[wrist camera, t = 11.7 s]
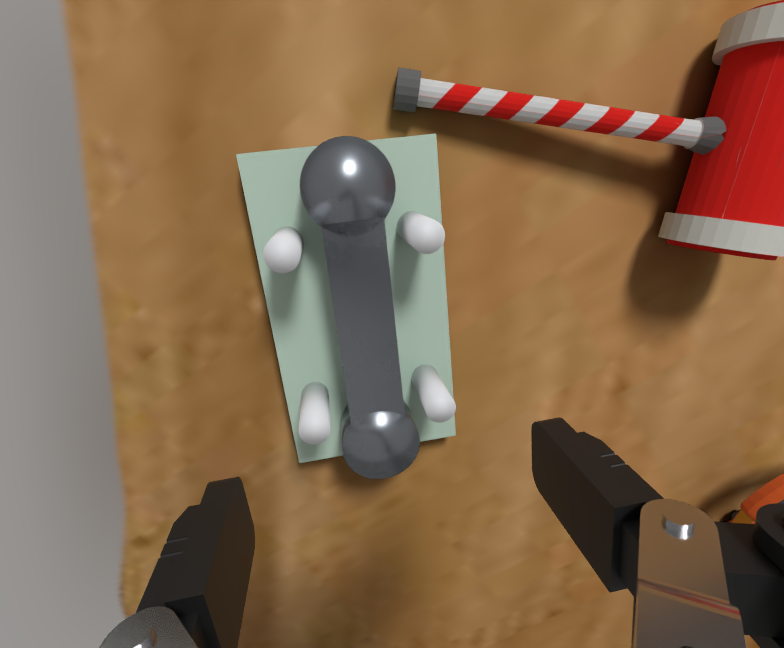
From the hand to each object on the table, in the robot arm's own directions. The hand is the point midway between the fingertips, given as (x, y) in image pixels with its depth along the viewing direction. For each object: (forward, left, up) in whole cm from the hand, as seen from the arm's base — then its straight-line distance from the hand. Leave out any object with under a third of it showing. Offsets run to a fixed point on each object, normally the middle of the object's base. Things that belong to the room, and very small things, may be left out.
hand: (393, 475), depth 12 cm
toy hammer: (+8, -17, -16) cm, 25 cm away
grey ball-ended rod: (0, 0, -14) cm, 14 cm away
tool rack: (0, 0, -16) cm, 16 cm away
